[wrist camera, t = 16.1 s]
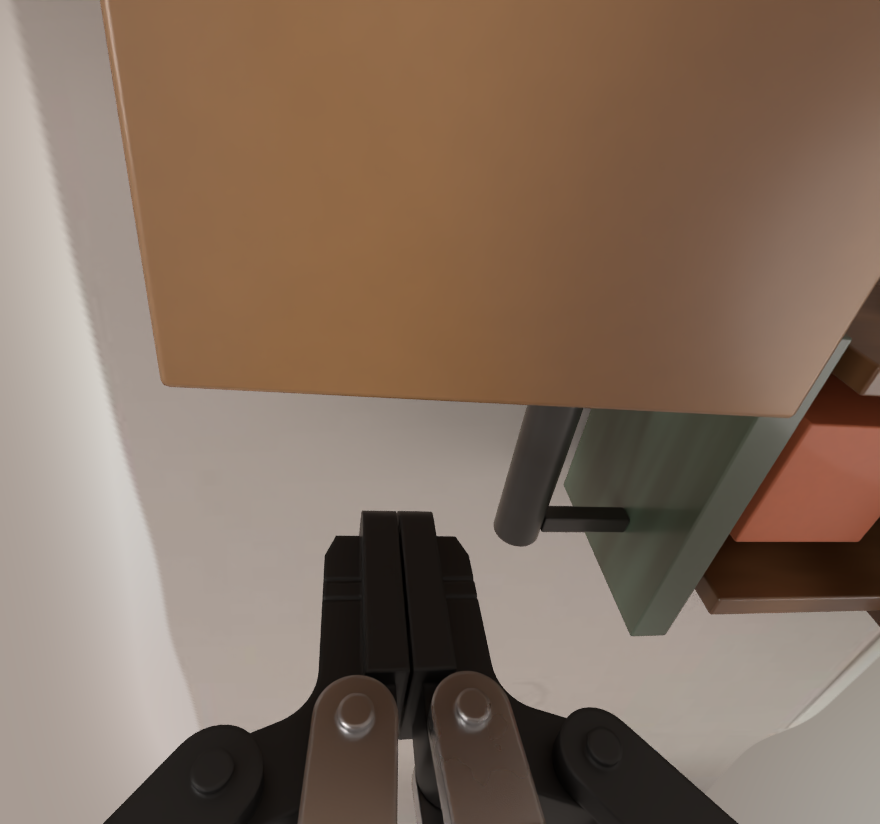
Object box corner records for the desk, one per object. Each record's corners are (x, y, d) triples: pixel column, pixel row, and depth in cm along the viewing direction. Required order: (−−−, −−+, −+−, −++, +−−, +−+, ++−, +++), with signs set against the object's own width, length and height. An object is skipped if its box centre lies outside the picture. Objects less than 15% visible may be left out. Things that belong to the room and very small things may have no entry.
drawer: (461, 482, 22) (497, 641, 16) (522, 211, 16) (611, 317, 10) (826, 490, 25) (959, 626, 19) (990, 266, 19) (1247, 371, 14)
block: (667, 448, 21) (734, 542, 17) (719, 340, 18) (811, 424, 14) (773, 452, 21) (859, 542, 18) (838, 349, 19) (953, 430, 15)
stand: (282, 142, 15) (158, 389, 5) (278, -243, 11) (-236, -1999, 1) (532, 175, 16) (795, 421, 7) (608, -159, 12) (1532, -756, 3)
